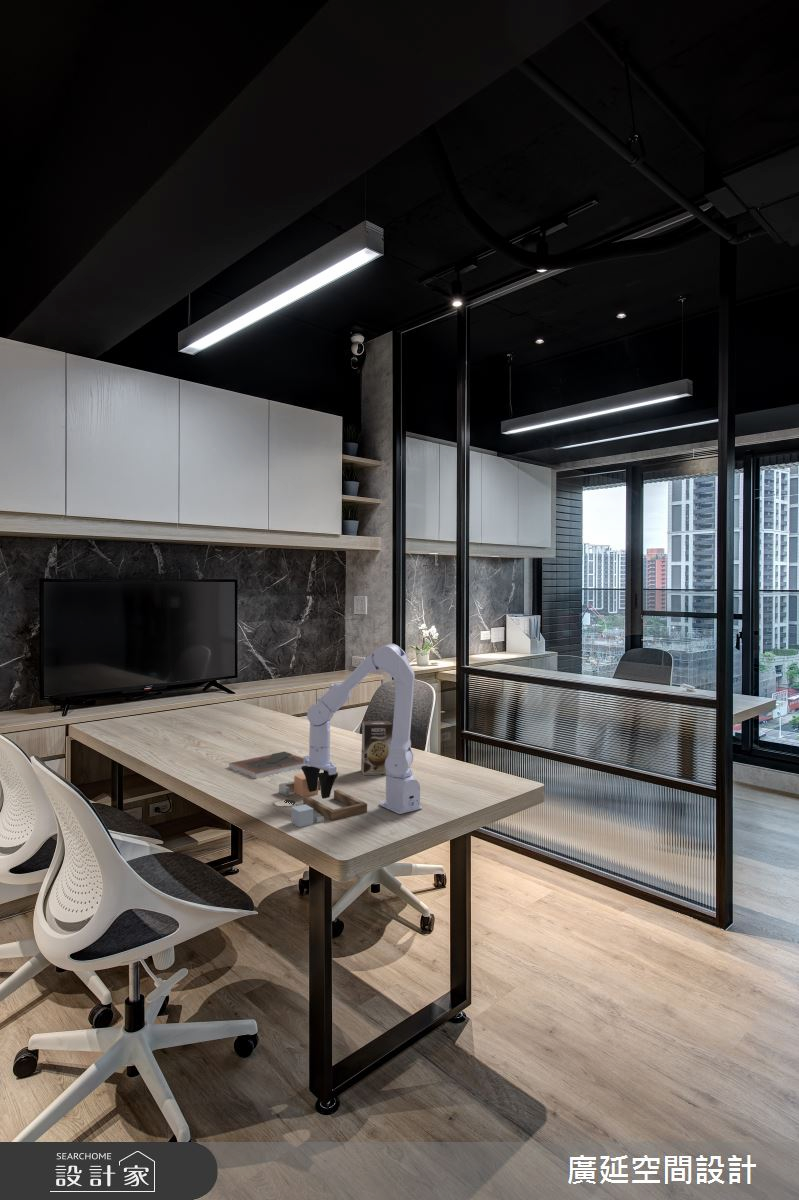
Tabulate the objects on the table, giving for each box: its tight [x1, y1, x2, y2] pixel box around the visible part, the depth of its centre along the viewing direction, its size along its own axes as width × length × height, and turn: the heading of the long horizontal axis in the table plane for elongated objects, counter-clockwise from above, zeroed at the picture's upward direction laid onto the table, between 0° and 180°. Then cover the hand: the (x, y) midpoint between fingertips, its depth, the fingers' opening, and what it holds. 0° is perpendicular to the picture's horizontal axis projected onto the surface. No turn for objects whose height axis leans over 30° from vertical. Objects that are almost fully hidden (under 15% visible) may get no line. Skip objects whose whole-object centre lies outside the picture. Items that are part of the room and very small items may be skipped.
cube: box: [293, 773, 319, 798], centre depth 187 cm, size 5×5×5 cm
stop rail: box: [278, 778, 321, 797], centre depth 190 cm, size 4×12×2 cm, turn 128°
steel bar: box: [295, 802, 325, 824], centre depth 170 cm, size 12×2×2 cm, turn 35°
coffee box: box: [360, 720, 393, 776], centre depth 210 cm, size 9×6×16 cm
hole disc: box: [284, 798, 297, 806], centre depth 179 cm, size 6×6×1 cm
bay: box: [302, 789, 368, 821], centre depth 175 cm, size 15×11×2 cm
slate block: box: [290, 804, 314, 828], centre depth 164 cm, size 4×4×4 cm
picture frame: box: [228, 751, 306, 779], centre depth 214 cm, size 16×2×22 cm
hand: (319, 794), depth 182 cm, fingers open, 6 cm apart
